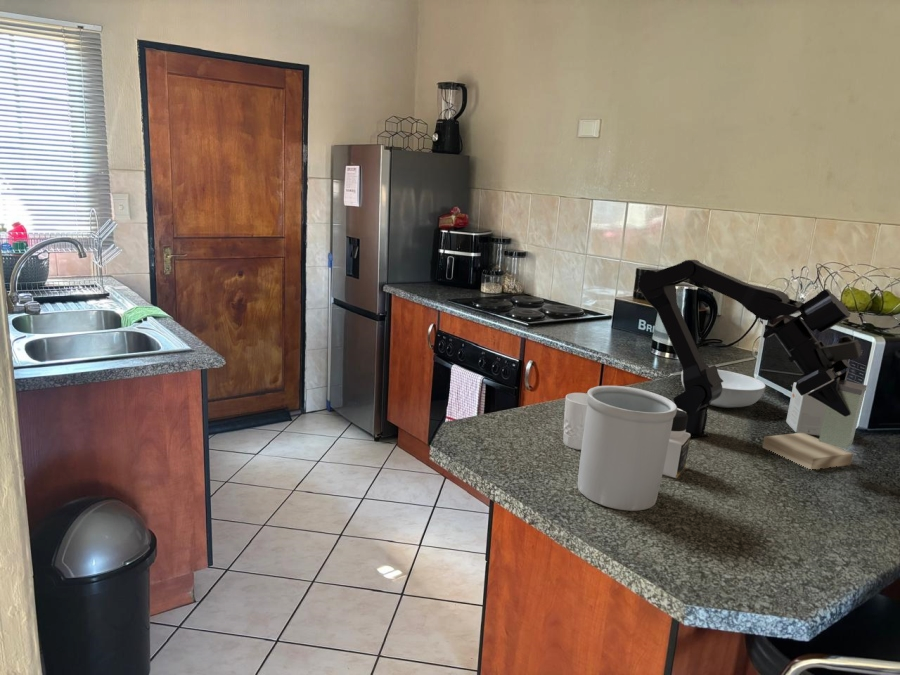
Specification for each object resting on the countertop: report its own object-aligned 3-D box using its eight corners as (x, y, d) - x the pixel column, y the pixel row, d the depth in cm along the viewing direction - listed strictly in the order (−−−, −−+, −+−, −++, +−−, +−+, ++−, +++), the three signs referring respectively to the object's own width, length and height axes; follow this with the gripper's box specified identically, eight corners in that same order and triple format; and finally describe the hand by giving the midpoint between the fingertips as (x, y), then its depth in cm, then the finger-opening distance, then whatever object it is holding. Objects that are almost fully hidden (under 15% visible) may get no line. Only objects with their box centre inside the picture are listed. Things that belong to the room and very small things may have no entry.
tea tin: (847, 449, 126) (862, 390, 123) (817, 441, 129) (831, 383, 126) (852, 443, 129) (867, 385, 127) (823, 435, 133) (837, 378, 130)
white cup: (605, 446, 136) (611, 400, 134) (585, 455, 131) (591, 407, 128) (573, 434, 142) (579, 390, 139) (552, 442, 136) (558, 396, 134)
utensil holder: (620, 470, 125) (633, 382, 121) (679, 505, 112) (696, 408, 108) (558, 480, 118) (569, 387, 114) (613, 519, 105) (628, 416, 101)
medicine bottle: (676, 479, 123) (687, 418, 120) (639, 468, 126) (648, 409, 124) (685, 467, 129) (695, 409, 126) (649, 457, 132) (658, 400, 130)
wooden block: (810, 472, 133) (813, 458, 132) (761, 449, 143) (764, 436, 143) (850, 466, 137) (853, 453, 137) (800, 444, 148) (803, 432, 147)
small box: (820, 436, 153) (830, 393, 151) (795, 433, 154) (804, 390, 152) (809, 425, 161) (818, 384, 159) (785, 422, 162) (793, 381, 160)
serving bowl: (775, 408, 173) (780, 383, 172) (737, 421, 160) (742, 394, 158) (702, 386, 188) (706, 363, 187) (662, 396, 175) (666, 372, 174)
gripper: (828, 328, 119) (884, 402, 115) (848, 318, 133) (899, 384, 129) (774, 359, 126) (825, 430, 122) (798, 347, 140) (845, 410, 136)
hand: (850, 412), depth 127 cm, fingers closed on tea tin, 5 cm apart
